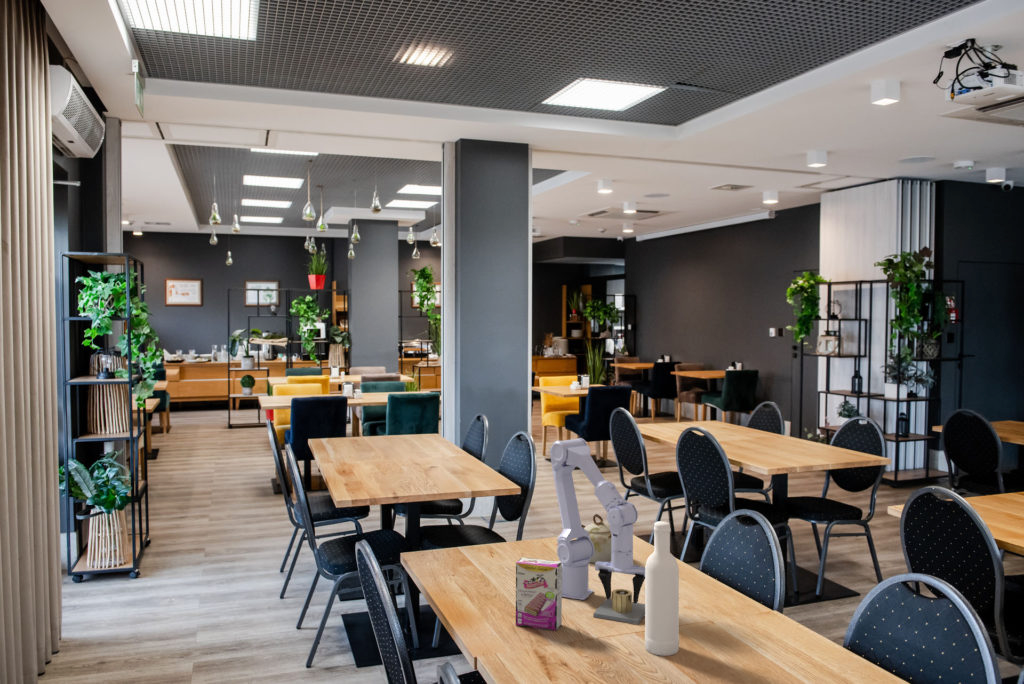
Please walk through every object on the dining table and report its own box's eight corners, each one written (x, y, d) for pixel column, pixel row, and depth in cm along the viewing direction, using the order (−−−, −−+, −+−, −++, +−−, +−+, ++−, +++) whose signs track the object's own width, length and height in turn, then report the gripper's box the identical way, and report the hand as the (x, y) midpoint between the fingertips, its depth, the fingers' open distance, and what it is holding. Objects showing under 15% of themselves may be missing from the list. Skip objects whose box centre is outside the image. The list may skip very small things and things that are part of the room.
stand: (593, 616, 197) (593, 596, 196) (607, 601, 207) (607, 582, 207) (638, 624, 191) (638, 603, 191) (649, 608, 202) (649, 588, 202)
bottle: (685, 654, 174) (685, 525, 174) (654, 658, 172) (654, 528, 171) (668, 640, 182) (668, 517, 181) (639, 644, 180) (639, 520, 179)
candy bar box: (514, 626, 191) (514, 562, 190) (521, 618, 195) (520, 556, 195) (557, 631, 187) (557, 566, 187) (562, 624, 192) (562, 560, 191)
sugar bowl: (560, 559, 246) (560, 513, 246) (587, 549, 257) (587, 505, 257) (610, 572, 233) (610, 524, 233) (636, 560, 244) (636, 515, 244)
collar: (609, 610, 198) (609, 594, 198) (615, 604, 203) (615, 587, 203) (628, 614, 196) (628, 597, 196) (634, 607, 201) (634, 590, 200)
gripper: (591, 550, 199) (591, 600, 199) (645, 557, 192) (644, 609, 193) (599, 543, 205) (599, 592, 205) (651, 549, 199) (651, 600, 199)
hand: (622, 600), depth 199 cm, fingers open, 7 cm apart
